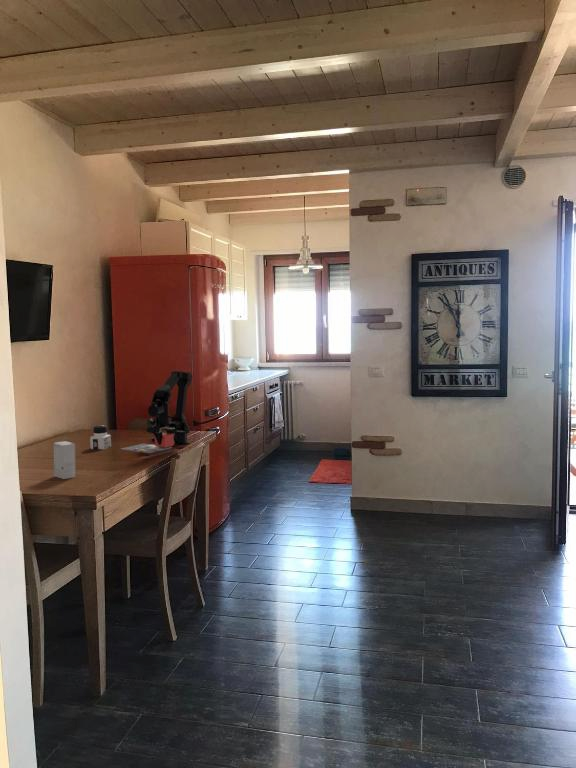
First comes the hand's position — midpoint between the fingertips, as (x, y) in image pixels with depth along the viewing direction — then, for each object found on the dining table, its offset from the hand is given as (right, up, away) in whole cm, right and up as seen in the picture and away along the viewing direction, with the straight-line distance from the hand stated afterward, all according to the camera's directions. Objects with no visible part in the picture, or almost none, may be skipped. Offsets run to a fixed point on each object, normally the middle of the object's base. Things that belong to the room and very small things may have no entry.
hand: (164, 443), depth 319 cm
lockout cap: (0, -1, 0) cm, 1 cm away
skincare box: (-32, -9, -52) cm, 62 cm away
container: (-34, -4, +4) cm, 34 cm away
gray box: (0, -2, 0) cm, 2 cm away
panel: (-9, -4, 0) cm, 10 cm away
